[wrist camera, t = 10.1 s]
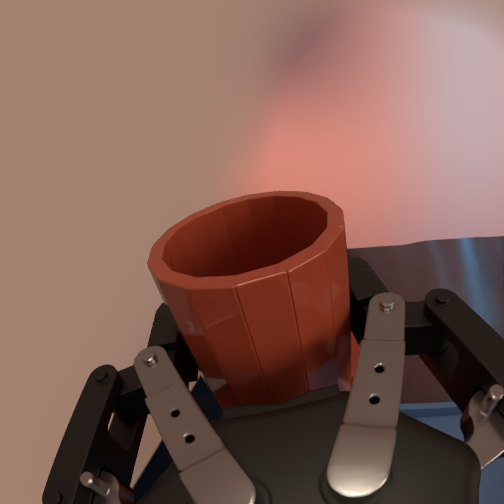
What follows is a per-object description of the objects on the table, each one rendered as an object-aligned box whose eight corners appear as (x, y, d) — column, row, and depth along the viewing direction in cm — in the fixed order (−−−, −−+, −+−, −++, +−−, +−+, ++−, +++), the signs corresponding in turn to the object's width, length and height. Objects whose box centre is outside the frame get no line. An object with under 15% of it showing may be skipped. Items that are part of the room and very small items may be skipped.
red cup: (277, 487, 11) (188, 325, 6) (216, 408, 16) (132, 240, 11) (374, 413, 14) (386, 213, 8) (302, 354, 18) (267, 182, 13)
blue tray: (514, 533, 7) (526, 528, 6) (357, 552, 12) (359, 551, 12) (511, 404, 18) (519, 393, 17) (384, 414, 23) (386, 403, 22)
